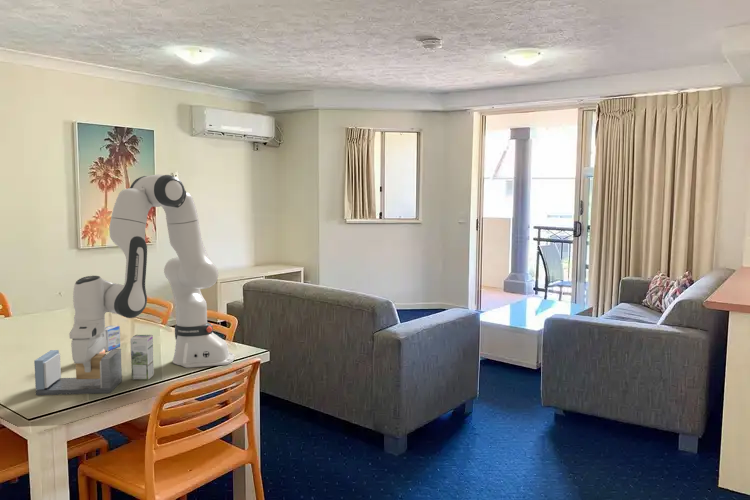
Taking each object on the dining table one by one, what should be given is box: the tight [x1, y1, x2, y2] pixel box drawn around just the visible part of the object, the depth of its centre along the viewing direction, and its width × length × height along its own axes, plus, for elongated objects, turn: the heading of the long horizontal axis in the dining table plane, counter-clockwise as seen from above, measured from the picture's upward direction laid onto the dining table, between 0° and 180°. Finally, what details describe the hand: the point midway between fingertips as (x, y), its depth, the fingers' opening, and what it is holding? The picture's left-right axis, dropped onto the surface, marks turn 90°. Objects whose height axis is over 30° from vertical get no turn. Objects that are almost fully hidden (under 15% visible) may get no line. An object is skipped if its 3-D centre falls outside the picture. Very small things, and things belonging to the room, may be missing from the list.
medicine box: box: [104, 325, 121, 352], centre depth 234 cm, size 8×4×9 cm, turn 168°
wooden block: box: [75, 353, 107, 379], centre depth 187 cm, size 4×8×7 cm, turn 97°
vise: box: [35, 348, 123, 396], centre depth 187 cm, size 22×12×11 cm, turn 97°
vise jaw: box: [33, 349, 62, 391], centre depth 186 cm, size 3×12×9 cm, turn 7°
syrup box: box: [130, 334, 155, 381], centre depth 198 cm, size 6×6×14 cm
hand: (91, 369), depth 187 cm, fingers closed on wooden block, 4 cm apart
